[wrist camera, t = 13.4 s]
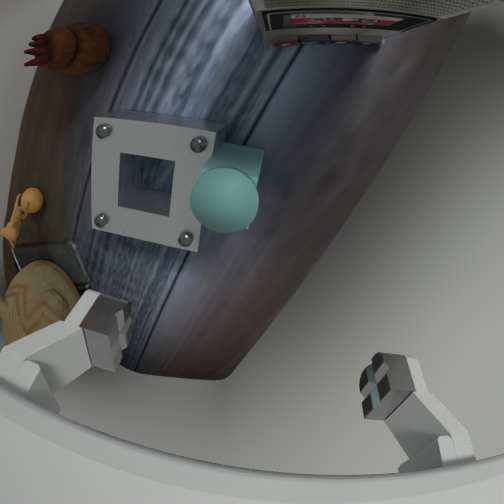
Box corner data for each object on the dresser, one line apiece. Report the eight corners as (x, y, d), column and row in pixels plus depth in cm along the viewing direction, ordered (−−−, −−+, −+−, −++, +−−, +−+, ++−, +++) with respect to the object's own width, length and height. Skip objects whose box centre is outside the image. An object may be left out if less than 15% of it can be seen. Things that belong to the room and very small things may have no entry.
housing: (121, 109, 36) (91, 117, 29) (227, 123, 36) (215, 133, 29) (115, 206, 43) (89, 230, 36) (209, 226, 43) (196, 254, 36)
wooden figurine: (115, 72, 33) (40, 77, 20) (79, 76, 33) (1, 87, 20) (118, 24, 30) (45, 9, 17) (82, 30, 30) (5, 24, 17)
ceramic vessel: (60, 331, 58) (5, 420, 37) (8, 257, 50) (-69, 337, 28) (113, 317, 54) (52, 429, 32) (52, 227, 45) (-46, 323, 24)
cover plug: (220, 137, 37) (193, 163, 26) (269, 146, 37) (264, 176, 26) (213, 183, 40) (187, 226, 29) (260, 191, 40) (251, 239, 29)
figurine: (34, 168, 40) (-17, 197, 30) (61, 183, 41) (11, 216, 31) (28, 211, 44) (-17, 246, 34) (53, 226, 45) (10, 264, 35)
